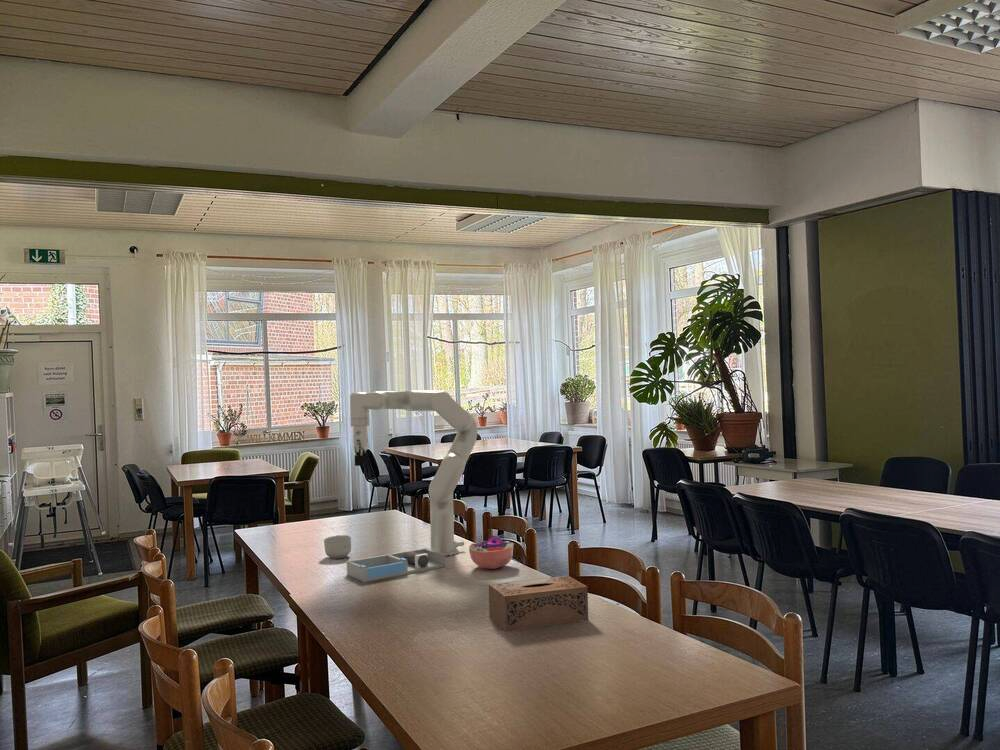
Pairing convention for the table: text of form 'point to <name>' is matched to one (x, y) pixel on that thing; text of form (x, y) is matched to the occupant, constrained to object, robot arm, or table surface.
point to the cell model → (491, 553)
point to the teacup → (337, 546)
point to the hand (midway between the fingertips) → (360, 464)
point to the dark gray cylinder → (417, 559)
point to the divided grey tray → (391, 565)
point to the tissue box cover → (538, 602)
